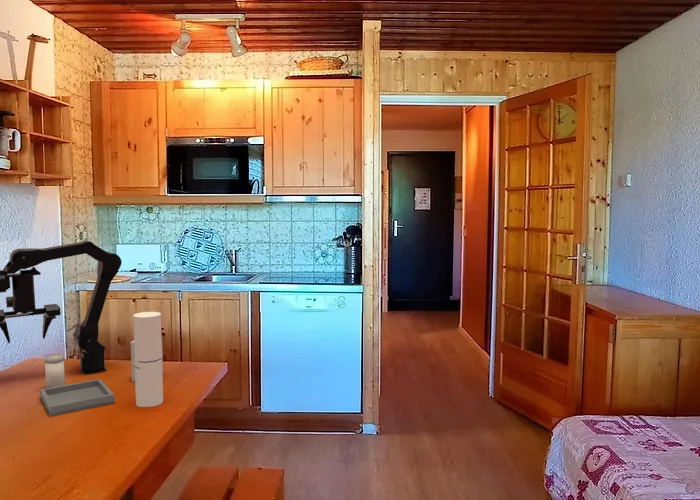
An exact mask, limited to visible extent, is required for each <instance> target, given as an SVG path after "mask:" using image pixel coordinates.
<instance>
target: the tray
mask: <svg viewBox="0 0 700 500" xmlns="http://www.w3.org/2000/svg"><path fill="white" fill-rule="evenodd" d="M39 395H40V396H39V397H40V398H39V399H40V400H41V402H42V404H43V406H44V407H45V410H46V411H47V413H48V415H49V417H54V416H60V415H65V414H69V413H74V412H79V411H84V410H88V409H94V408H98V407H102V406H109V405H113V404H115V402H116V401H115V397H116V396H115V393H114V392H113V391H112V390H111V389H110V388H109V386H107V384H106V383H105V382H104V381H103V380H102V379H101V378H99V379H92V380H87V381H81V382H75V383H69V384H65V385H63V386H58V387H52V388H46V387H45V388H42V389H39Z"/></svg>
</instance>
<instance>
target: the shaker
mask: <svg viewBox="0 0 700 500" xmlns="http://www.w3.org/2000/svg"><path fill="white" fill-rule="evenodd" d="M43 362H44V371H45V372H44V374H45V389H46V388H52V387H58V386H63V385H66V380H65V378H66V377H65V354H64V353H59V352H57V353H49V354H46V355H44V356H43Z"/></svg>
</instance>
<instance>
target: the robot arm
mask: <svg viewBox="0 0 700 500" xmlns="http://www.w3.org/2000/svg"><path fill="white" fill-rule="evenodd" d="M84 254H85V255H87V256H89V257H90V258H92V259H94V260H96V261H97V266H96V269H97V271H96V274H97V276H96V277H97V278H96V281H95V285H94V288H93V290H92V295H91V297H90V301H89V304H88V307H87V310H86V313H85V317H84V319H83V321H82V322H81V324H80V323H77V322H76V323H75V330H74V332H73V333H72V336H73V341H74V343H75V344H76V345H77V347H78V348H79V349H80V350H82V352H81V356H80V357H79V369H80V371H82V372H83V373H84V374H85V375H88V374H94V373H100V372H105V371H107V368H105V350H106V347H105V346H104V345H103V344H102V343H101V342H100V341H99V333H100V332H99V321H100V319H101V315H102V313H103V310H104V305H105V303H106V299H107V296H108V293H109V289H110V286H111V283H112V281H113V280H114V278H115V277H116V276H117V274H118V272H119V270H120V268H121V266H122V262H123V261H122V258H121V257H120V256H119V255H118V254H116V253H113V252H111V251H106V250H104V249H102V248H101V247H99V246H97V245H96V244H95V243H93V242H92V241H89V240H82V241H79V242H74V243H67V244H63V245H62V244H61V245H56V246H49V247H45V248H35V247H34V248H16V249H14V250H12V252H11V253H10V255H9V261H8V262H7V264H5V266H4V267H3V269H0V294H1V293H7V290H8V291H9V289H11V286H12V296H6V297H5V302H6V303H5V304H6V306H5V307H6V309H8V308H9V309H10V308H12V311H5V310H4V309H0V329H1V331H2V332H3V334H4V336H5V338H6V341H7V343H8V344H10V343H11V338H10V334H9V329H8V323H7V320H6V319H12V318H20V317H21V318H22V317H29V316H38V315H39V316H40V315H42V316H43V317H42V318H43V319H42V320H43V321H42V322H43V323H42V331H41V332H42V333H41V334H42V339H45V338H46V336H47V334H48V330H49V327H50V326H51V323H52V321H53V320H54V319H57V316H58V317H59V316H61V307H60V306H59V305H58V304H57V303H51V304H43V307H41V308H36V297H35V296H36V294H35V292H36V291H35V278H34V276H40V275H41V274H42V273H41V271H38V270H37V268H36V266H38V265H40V264H43V263H45V262H48V261H53V260H57V259H58V260H59V259H64V258H69V257H74V256H81V255H84Z"/></svg>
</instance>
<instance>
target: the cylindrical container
mask: <svg viewBox="0 0 700 500" xmlns="http://www.w3.org/2000/svg"><path fill="white" fill-rule="evenodd" d="M132 319H133V320H132V321H133V341H134V354H135V381H134V383H135V387H134V388H135V405H136V406H137V407H139V408H152V407H156V406H160V405H162V404H163V403H164V389H163V388H164V385H163V384H164V383H163V379H164V378H163V375H162V351H163V337H162V313H161V312H158V311H142V312H138V313H134V314H133V318H132Z"/></svg>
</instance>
